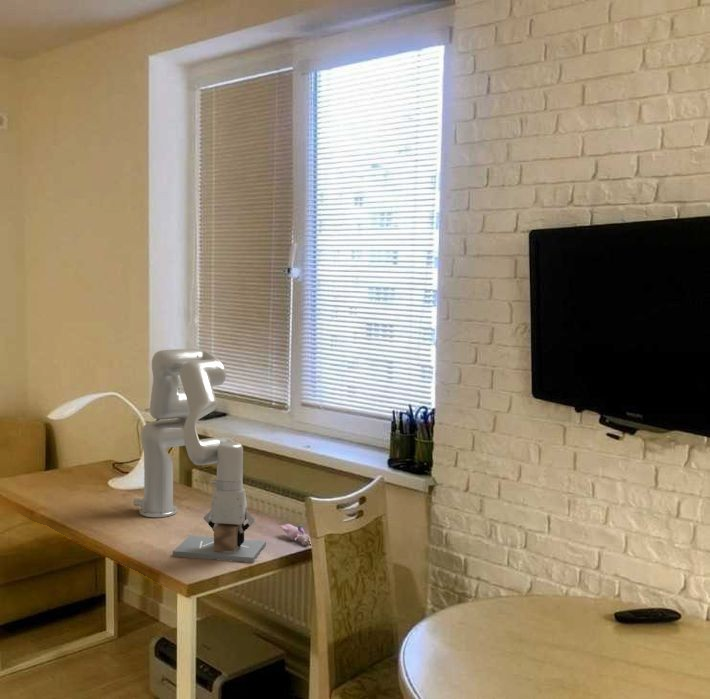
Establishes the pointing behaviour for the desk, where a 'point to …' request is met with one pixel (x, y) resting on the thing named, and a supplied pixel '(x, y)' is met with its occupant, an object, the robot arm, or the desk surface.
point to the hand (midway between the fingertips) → (229, 543)
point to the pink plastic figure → (296, 533)
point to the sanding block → (226, 538)
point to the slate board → (205, 550)
